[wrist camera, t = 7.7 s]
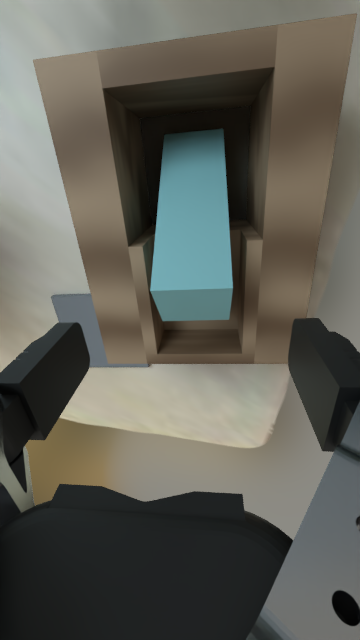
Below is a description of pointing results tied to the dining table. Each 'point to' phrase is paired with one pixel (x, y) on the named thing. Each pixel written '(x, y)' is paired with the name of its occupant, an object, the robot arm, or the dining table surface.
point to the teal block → (192, 230)
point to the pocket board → (262, 187)
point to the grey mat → (85, 325)
